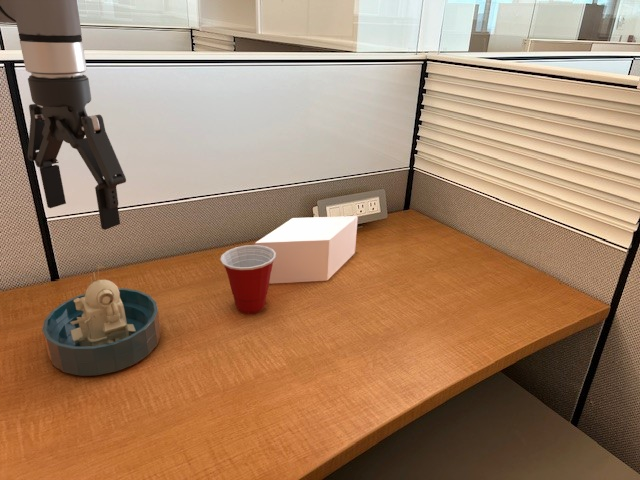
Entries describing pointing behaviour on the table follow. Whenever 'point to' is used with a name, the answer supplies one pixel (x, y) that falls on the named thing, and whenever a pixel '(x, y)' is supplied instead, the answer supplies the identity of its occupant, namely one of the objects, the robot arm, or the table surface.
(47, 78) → the robot arm
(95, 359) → the shallow teal bowl
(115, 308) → the robot
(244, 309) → the plastic cup
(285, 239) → the white rectangular box
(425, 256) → the table surface
